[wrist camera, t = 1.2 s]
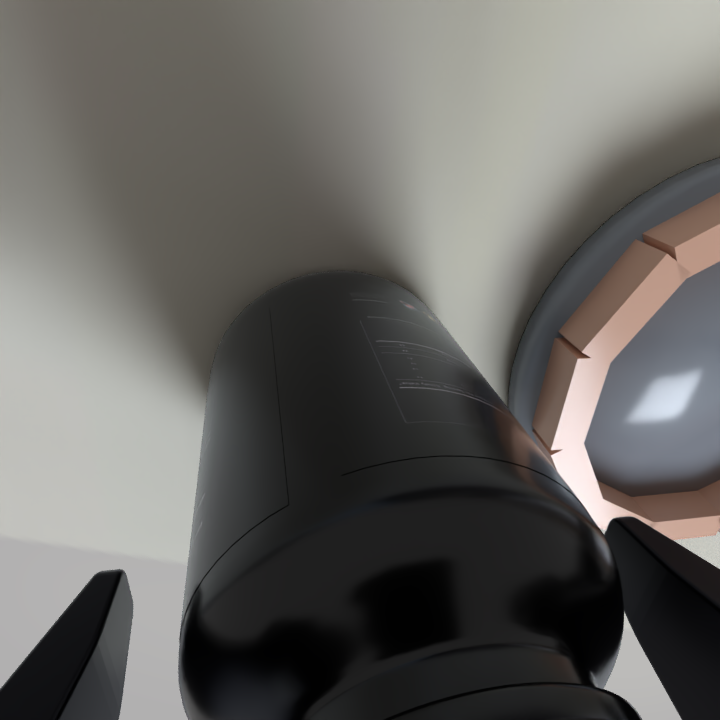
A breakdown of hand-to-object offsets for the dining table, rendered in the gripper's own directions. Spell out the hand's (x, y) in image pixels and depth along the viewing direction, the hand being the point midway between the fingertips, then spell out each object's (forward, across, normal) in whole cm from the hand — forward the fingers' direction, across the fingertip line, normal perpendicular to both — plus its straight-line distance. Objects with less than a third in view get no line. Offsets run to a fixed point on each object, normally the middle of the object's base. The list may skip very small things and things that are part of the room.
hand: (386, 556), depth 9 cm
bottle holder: (+6, -12, 0) cm, 14 cm away
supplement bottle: (+7, 0, 0) cm, 7 cm away
